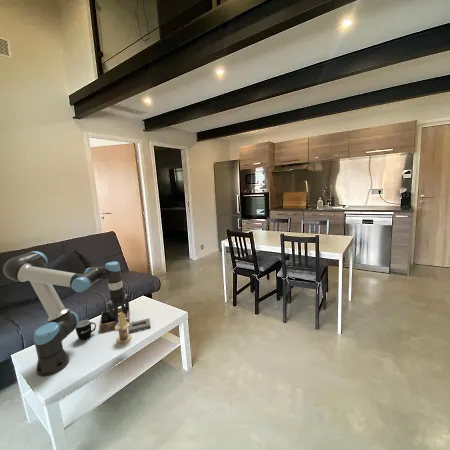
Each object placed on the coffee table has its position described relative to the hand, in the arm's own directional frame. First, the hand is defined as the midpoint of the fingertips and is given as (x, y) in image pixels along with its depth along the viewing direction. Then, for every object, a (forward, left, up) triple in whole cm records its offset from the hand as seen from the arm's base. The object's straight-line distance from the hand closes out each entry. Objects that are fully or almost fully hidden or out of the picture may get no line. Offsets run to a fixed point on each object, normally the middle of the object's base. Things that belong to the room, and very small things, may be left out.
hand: (122, 325), depth 151 cm
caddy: (-7, +37, -15) cm, 41 cm away
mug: (-24, +25, -15) cm, 38 cm away
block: (0, 0, 0) cm, 1 cm away
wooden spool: (-1, +10, -15) cm, 18 cm away
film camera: (-11, +36, -15) cm, 41 cm away
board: (+9, +21, -15) cm, 27 cm away
